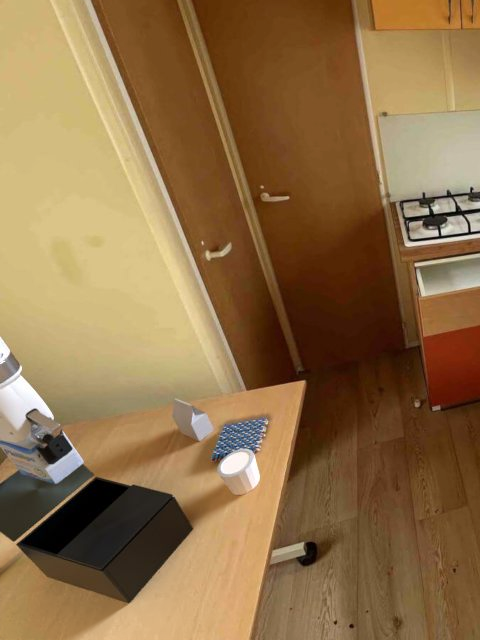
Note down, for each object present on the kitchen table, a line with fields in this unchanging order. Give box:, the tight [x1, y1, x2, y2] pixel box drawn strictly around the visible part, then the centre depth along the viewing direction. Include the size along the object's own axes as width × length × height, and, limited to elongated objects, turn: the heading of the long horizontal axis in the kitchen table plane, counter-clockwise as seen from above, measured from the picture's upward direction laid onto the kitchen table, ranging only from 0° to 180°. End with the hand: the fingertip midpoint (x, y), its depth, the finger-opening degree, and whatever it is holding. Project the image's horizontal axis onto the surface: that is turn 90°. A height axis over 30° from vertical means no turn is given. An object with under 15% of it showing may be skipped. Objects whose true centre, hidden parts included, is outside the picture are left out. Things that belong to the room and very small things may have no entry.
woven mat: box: [210, 416, 269, 462], centre depth 102 cm, size 10×11×2 cm
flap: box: [0, 463, 95, 543], centre depth 75 cm, size 9×13×1 cm
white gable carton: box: [171, 397, 215, 442], centre depth 102 cm, size 4×7×10 cm, turn 69°
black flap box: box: [15, 476, 194, 604], centre depth 78 cm, size 19×13×11 cm
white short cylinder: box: [216, 449, 261, 496], centre depth 91 cm, size 7×7×7 cm
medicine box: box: [0, 425, 85, 484], centre depth 71 cm, size 8×4×9 cm, turn 77°
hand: (40, 451), depth 71 cm, fingers closed on medicine box, 8 cm apart
